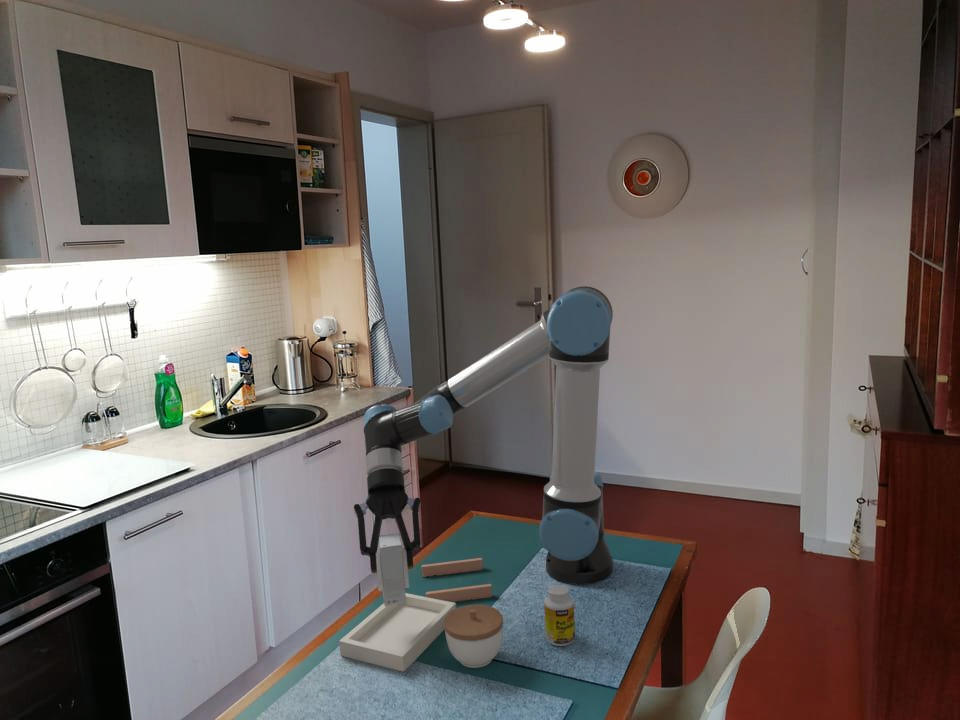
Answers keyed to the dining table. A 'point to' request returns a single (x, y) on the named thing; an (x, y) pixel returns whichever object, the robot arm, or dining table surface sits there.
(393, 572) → the skincare box
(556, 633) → the supplement bottle
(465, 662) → the lidded jar
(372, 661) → the cream tray
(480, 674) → the dining table surface
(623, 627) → the dining table surface
